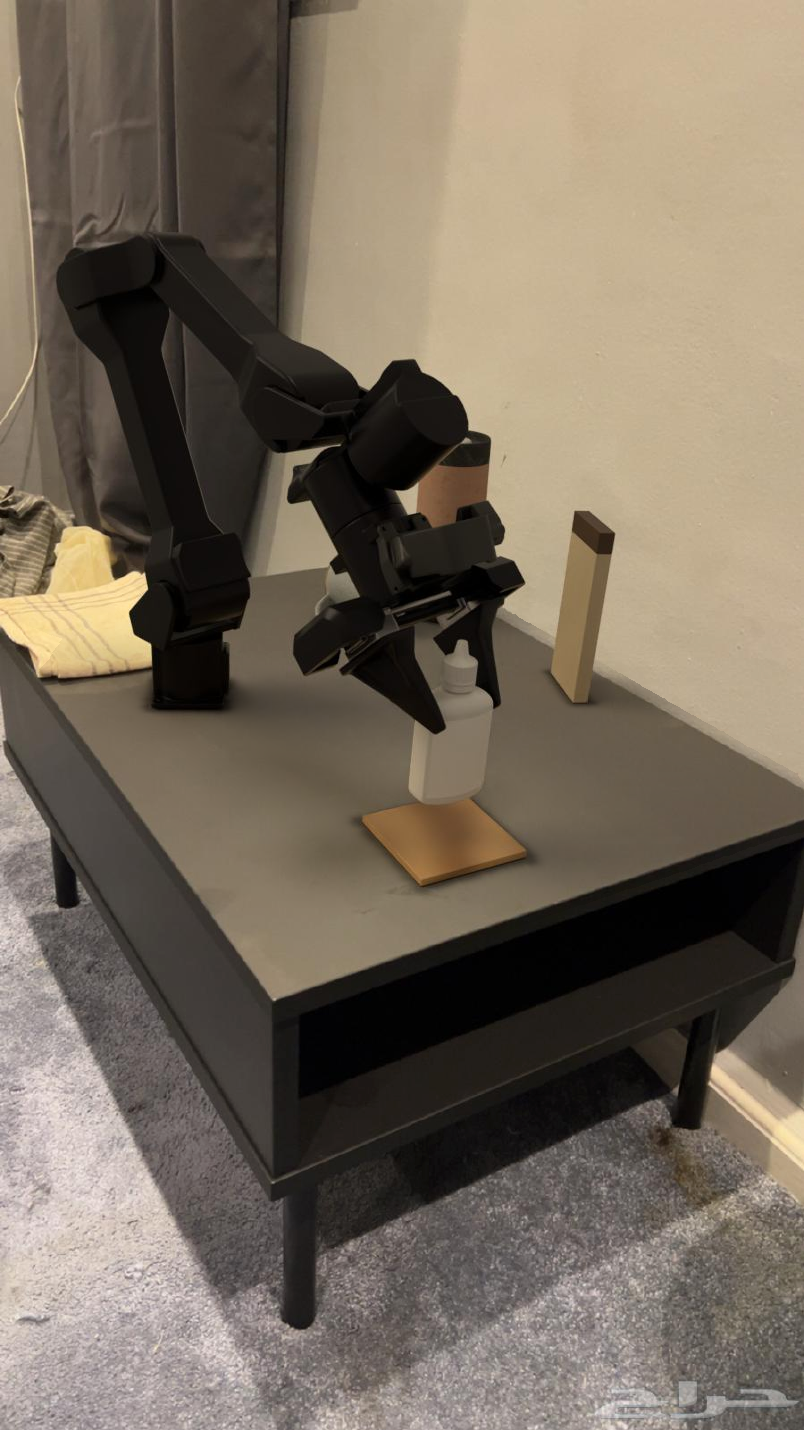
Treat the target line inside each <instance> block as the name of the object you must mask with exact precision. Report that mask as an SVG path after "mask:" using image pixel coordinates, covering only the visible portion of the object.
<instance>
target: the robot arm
mask: <svg viewBox="0 0 804 1430" xmlns="http://www.w3.org/2000/svg"><path fill="white" fill-rule="evenodd" d="M55 284H56V291H57V294H58V297H59V300H60V301H61V303H62V304H63V307H64V310H65V312H66V314H67V318H68V320H69V322H70V325H71V327H72V330H73V332H74V334H75V336H76V337H77V339H78V340H79V341H81V342H82V344H83V345H84V346H85V347H86V348H87V349H88V350H89V351H90V352H91V353H92V354H93V355H94V356H95V357H96V358H97V359H98V360H99V362H100V363H102V365H103V367H104V370H105V373H106V376H107V380H108V384H109V386H110V390H111V394H112V397H113V400H114V404H115V407H116V411H117V415H118V417H119V418H118V419H119V421H120V424H121V425H120V426H121V428H122V431H123V432H122V433H123V435H124V439H125V442H126V445H127V449H128V452H129V455H130V459H131V462H132V466H133V469H134V473H135V476H136V480H137V483H138V486H139V490H140V494H141V497H142V501H143V504H144V507H145V512H146V515H147V517H148V518H147V519H148V522H149V525H150V529H151V533H152V534H151V537H150V542H149V545H148V549H147V553H146V557H145V561H144V563H143V564H144V565H143V572H144V576H145V581H146V585H147V590H146V591H144V593H143V595H141V597H139V599H138V600H137V601H136V602H135V604H134V605H133V606H132V607H131V608H130V609H129V610H128V617H129V620H130V625H131V630H132V633H133V635H134V636H135V637H137V638H139V639H140V640H142V641H144V642H146V643H148V644H150V653H151V680H152V690H151V695H150V701H149V703H150V707H151V708H154V709H157V708H158V709H161V708H162V709H221V708H224V707H225V706H224V705H225V695H228V694H229V693H230V687H231V686H230V684H231V655H230V654H231V650H230V648H231V644H230V643H229V642H228V641H224V633H225V632H229V631H233V630H234V631H235V630H236V631H237V630H239V629H241V626H242V622H243V619H244V615H245V612H246V609H247V605H248V602H249V600H250V599H251V584H250V579H249V578H251V577H252V573H251V571H250V570H249V568H248V567H247V563H246V561H245V559H244V554H243V548H242V542H241V539H240V537H239V536H238V535H237V533H236V532H234V531H230V532H226V533H224V532H223V530H221V529H220V528H219V527H218V526H217V524H215V523H214V521H213V520H211V518H210V516H209V513H208V510H207V507H206V503H205V500H204V495H203V493H202V488H201V485H200V481H199V479H198V475H197V471H196V467H195V464H194V461H193V460H194V459H193V457H192V453H191V450H190V446H189V443H188V438H187V436H186V432H185V430H184V425H183V422H182V417H181V415H180V411H179V407H178V404H177V401H176V397H175V393H174V389H173V386H172V383H171V379H170V376H169V372H168V369H167V365H166V361H165V358H164V354H163V347H164V343H165V339H166V335H167V331H168V328H169V324H170V321H171V317H172V316H171V314H172V313H173V314H174V315H175V316H176V317H177V318H178V319H179V321H180V322H182V324H183V325H184V326H185V327H186V329H188V331H189V332H190V333H191V334H192V335H193V336H194V337H195V338H196V339H197V340H198V342H199V343H201V344H202V346H203V347H204V348H205V349H206V351H208V353H210V354H211V356H212V357H213V358H214V359H215V360H216V361H217V362H218V363H219V364H220V366H222V368H224V369H225V371H226V372H227V373H228V374H229V375H230V376H231V378H232V380H233V381H234V382H235V384H236V385H237V387H238V388H237V390H238V402H239V403H238V405H239V409H240V411H241V412H242V414H243V416H244V417H245V418H246V420H247V421H248V423H249V424H250V426H251V428H252V429H253V430H254V432H255V433H256V435H257V436H258V438H259V439H260V441H261V442H262V443H263V445H264V446H265V447H266V448H267V449H269V450H270V451H271V452H274V453H276V454H287V453H295V452H300V451H307V450H313V449H321V448H323V450H321V451H320V452H319V453H318V454H317V455H316V456H315V458H314V459H313V460H312V461H311V462H309V463H304V464H296V465H294V466H292V477H291V481H290V483H289V485H288V488H287V494H286V501H287V503H288V504H290V505H296V504H300V503H305V502H311V504H312V506H313V508H314V510H315V512H316V514H317V516H318V518H319V520H320V522H321V524H322V526H323V528H324V529H325V531H326V534H327V536H328V538H329V540H330V541H331V544H332V545H333V547H334V549H335V552H336V553H337V554H338V555H337V554H336V555H337V556H336V555H335V556H336V557H335V556H334V557H335V558H334V557H333V558H334V559H333V558H332V559H333V560H332V559H331V560H330V561H329V564H330V565H331V567H332V569H333V571H334V573H335V575H338V574H341V573H345V572H347V573H348V575H349V577H350V578H351V580H352V582H353V584H354V586H355V588H356V590H357V592H358V594H359V596H360V597H358V598H354V599H351V600H347V601H344V602H340V603H337V604H333V605H330V606H327V607H326V608H325V609H324V610H323V611H321V612H320V613H319V614H318V615H317V616H316V615H315V616H314V617H313V618H312V619H311V620H310V621H309V622H308V623H306V624H305V625H304V626H303V627H301V628H300V629H299V630H297V632H296V633H295V634H294V635H293V640H292V641H293V645H292V655H293V657H294V659H295V661H296V663H297V666H298V667H299V669H300V672H301V674H302V676H304V677H308V676H311V675H315V674H317V673H320V672H323V671H326V670H330V669H332V668H335V666H337V665H338V664H339V661H340V657H341V653H342V649H343V650H344V655H345V657H346V659H347V660H348V662H347V663H345V664H344V665H343V666H341V667H340V668H339V669H338V671H339V674H340V675H341V676H342V677H345V676H348V675H349V676H352V677H353V678H355V679H357V680H358V681H360V682H361V683H363V684H364V685H366V686H367V687H369V688H371V689H372V690H374V691H375V692H377V693H378V694H380V695H382V696H383V697H384V698H385V699H387V700H388V701H389V702H391V703H392V704H393V705H395V706H396V707H398V708H399V709H400V710H401V711H403V712H404V713H406V714H407V715H408V716H409V717H411V718H412V719H413V720H414V721H415V720H416V721H417V722H418V723H420V724H421V725H422V726H424V727H425V728H426V729H427V730H429V731H430V732H431V733H433V734H435V735H436V734H439V733H441V732H442V731H444V730H445V729H446V724H445V722H444V719H443V716H442V713H441V711H440V708H439V706H438V704H437V702H436V700H435V697H434V695H433V693H432V689H431V687H430V685H429V682H428V681H427V679H426V677H425V674H424V672H423V671H422V668H421V666H420V664H419V662H418V659H417V657H416V655H415V644H416V643H415V642H416V641H415V640H416V638H415V637H416V627H415V625H417V624H420V623H423V622H426V621H430V620H429V619H432V618H435V617H436V618H437V620H438V622H437V623H438V624H439V626H440V628H441V631H440V632H439V633H438V634H436V635H435V636H433V637H432V640H433V641H434V643H435V644H436V645H437V647H438V648H439V649H440V651H441V652H442V654H443V655H444V657H445V656H446V655H448V654H452V653H454V651H455V648H456V644H457V641H458V640H466V641H467V642H468V652H469V655H470V656H472V657H474V658H475V659H476V660H477V662H478V666H477V675H476V683H475V686H477V687H479V688H481V689H483V690H484V691H485V692H487V693H488V694H489V695H490V697H491V698H492V700H493V710H495V709H497V708H498V707H500V706H501V705H502V698H501V692H500V684H499V679H498V672H497V666H496V665H497V664H496V659H495V651H494V642H493V641H494V640H493V627H494V622H495V619H496V616H497V613H498V610H499V609H500V608H501V607H503V606H504V605H505V601H506V599H507V598H508V597H510V596H511V595H512V594H514V593H515V592H517V591H519V589H521V588H522V587H524V586H525V585H526V583H527V582H526V581H525V579H524V577H523V575H522V573H521V570H520V569H519V567H518V565H517V564H516V561H515V560H513V559H511V558H507V557H505V556H502V555H499V556H498V555H497V551H496V547H497V546H501V545H502V544H503V542H504V540H505V534H506V527H505V525H504V524H503V522H502V519H501V517H500V516H499V514H498V512H497V511H496V510H495V508H494V507H493V505H492V504H491V502H490V501H489V500H487V499H486V501H483V502H478V503H474V504H471V505H467V506H462V507H459V508H458V509H457V514H456V521H455V523H451V524H447V525H443V526H438V527H434V528H433V527H432V526H431V524H430V522H429V520H428V519H427V517H426V516H425V515H422V514H421V512H418V513H416V512H414V513H409V514H408V512H407V510H406V508H405V506H404V504H403V503H402V500H401V498H400V496H399V494H398V493H397V492H405V491H409V490H410V489H412V488H413V487H415V486H416V485H418V482H419V481H420V480H421V479H422V478H423V477H425V476H426V475H427V474H428V473H429V472H430V471H431V470H432V469H433V468H434V467H435V466H437V465H438V464H439V463H440V462H441V461H442V460H443V459H444V458H445V457H446V456H447V455H449V454H450V453H451V452H452V451H453V450H454V449H455V448H456V447H457V446H458V445H459V444H461V443H462V442H463V440H464V439H465V438H466V436H467V433H468V430H469V426H470V425H469V423H470V422H469V417H468V413H467V410H466V407H465V406H464V403H463V402H462V400H461V399H460V397H459V396H458V395H457V394H454V393H453V392H452V391H451V390H450V389H449V388H448V387H447V386H446V385H445V384H444V383H443V382H442V381H440V380H438V379H437V378H436V377H434V376H432V375H430V374H428V373H425V372H423V371H422V369H421V367H420V365H419V363H418V361H417V360H416V359H415V358H406V359H393V360H391V361H390V362H389V364H388V365H387V366H386V367H385V368H384V370H383V371H382V372H381V375H380V376H379V378H378V380H377V381H376V382H375V383H374V385H373V386H372V387H370V389H367V388H366V387H363V386H361V385H359V383H358V381H357V379H356V377H355V376H354V375H353V374H352V372H351V371H350V370H348V369H347V368H346V367H344V365H342V364H341V363H339V362H337V361H336V360H335V359H333V358H332V357H330V356H329V355H327V354H326V353H324V352H323V351H322V350H319V349H317V348H315V347H312V346H309V345H307V344H304V343H301V342H299V341H296V340H294V339H292V338H290V337H289V336H288V335H286V334H285V333H284V332H282V330H280V329H279V328H278V327H277V325H275V324H274V323H273V322H272V321H271V319H270V318H269V317H268V316H267V315H266V314H265V313H264V312H263V311H262V310H261V309H260V308H259V307H258V306H257V305H256V304H255V303H254V302H253V301H252V300H251V298H250V297H248V295H247V294H245V292H244V291H243V290H242V289H241V288H240V287H239V286H238V285H237V284H236V283H235V281H233V280H232V279H231V278H230V277H229V275H227V274H226V273H225V271H223V269H222V268H221V267H220V266H218V264H217V263H215V261H214V260H213V259H212V258H211V257H210V256H209V255H208V254H207V251H206V248H205V245H204V244H203V242H202V240H201V239H199V238H198V237H196V236H195V235H192V234H191V233H189V232H177V231H176V232H175V231H143V232H142V233H140V234H137V235H134V236H132V237H130V238H128V239H127V240H124V241H120V242H115V243H112V244H108V245H107V244H106V245H103V246H99V247H97V246H95V247H93V246H75V247H73V248H70V250H68V252H67V254H66V255H65V257H64V260H63V261H62V262H61V263H60V264H59V266H58V267H57V270H56V274H55ZM171 312H172V313H171ZM461 571H463V572H461ZM460 572H461V573H460ZM458 573H460V574H459V575H458V576H456V575H457V574H458ZM455 576H456V577H455ZM453 577H455V578H454V579H452V578H453ZM450 579H452V580H451V581H450V582H448V583H447V584H446V585H445V586H443V583H444V582H445V581H447V580H450ZM423 606H428V608H427V607H426V608H422V607H423ZM420 607H421V608H422V609H421V608H420ZM403 613H404V615H402V616H401V615H400V616H399V617H397V615H399V614H403Z"/></svg>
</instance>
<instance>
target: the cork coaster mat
mask: <svg viewBox="0 0 804 1430" xmlns="http://www.w3.org/2000/svg"><path fill="white" fill-rule="evenodd" d="M362 823H363V824H364V826H365V827H367V829H368V830H369V831H370V832H371V833H372V834H373V835H374V836H375V838H377V840H378V841H379V842H380V843H381V844H382V845H383V847H385V848H386V849H387V851H388V852H389V853H390V854H391V855H392V856H393V858H395V859H396V860H397V861H398V863H399V864H400V865H401V866H402V867H403V868H404V869H405V870H406V871H407V872H408V874H409V875H410V876H411V877H412V879H414V880H415V882H417V884H418V885H419V886H420V887H425V886H427V885H430V884H434V883H435V884H436V883H438V882H441V881H445V880H449V879H452V878H456V877H459V876H464V875H467V874H469V873H473V872H477V871H481V870H484V869H489V868H491V867H495V866H498V865H502V864H507V863H509V862H513V861H516V860H521V859H524V858H527V853H528V850H527V849H526V848H525V847H524V846H523V845H522V844H520V843H519V842H518V840H516V838H514V837H513V836H511V834H509V833H508V832H507V831H506V830H505V829H504V828H503V827H501V825H499V824H498V823H497V822H496V821H495V820H494V819H493V818H492V817H491V816H489V814H488V813H487V812H485V811H484V810H483V809H482V808H480V807H479V805H477V804H476V803H475V802H474V801H473V800H472V799H471V798H470V797H469V798H467V799H465V800H462V801H458V802H454V803H449V804H440V805H427V804H423V803H422V802H420V801H419V802H414V803H410V804H405V805H401V806H397V807H393V808H389V809H385V810H380V811H377V812H371V813H368V814H367V813H366V814H363V815H362Z"/></svg>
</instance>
